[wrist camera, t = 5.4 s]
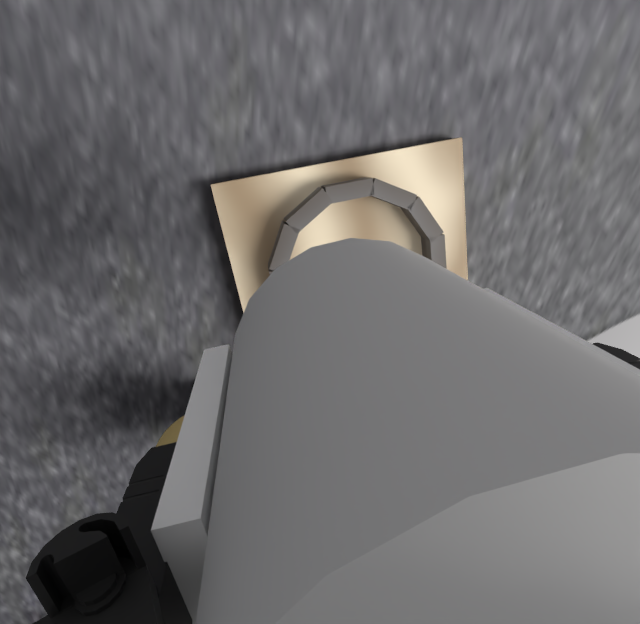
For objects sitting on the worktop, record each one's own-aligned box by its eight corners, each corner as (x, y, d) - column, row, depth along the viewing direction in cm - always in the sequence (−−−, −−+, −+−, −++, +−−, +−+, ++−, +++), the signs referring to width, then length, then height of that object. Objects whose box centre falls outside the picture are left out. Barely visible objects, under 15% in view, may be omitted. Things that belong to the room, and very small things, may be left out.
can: (330, 473, 16) (513, 1261, 4) (184, 338, 13) (-279, 1423, 2) (492, 350, 15) (1228, 938, 4) (370, 180, 12) (1666, 362, 1)
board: (261, 377, 31) (263, 396, 28) (211, 183, 26) (208, 186, 23) (462, 329, 32) (480, 343, 30) (453, 138, 27) (474, 136, 25)
